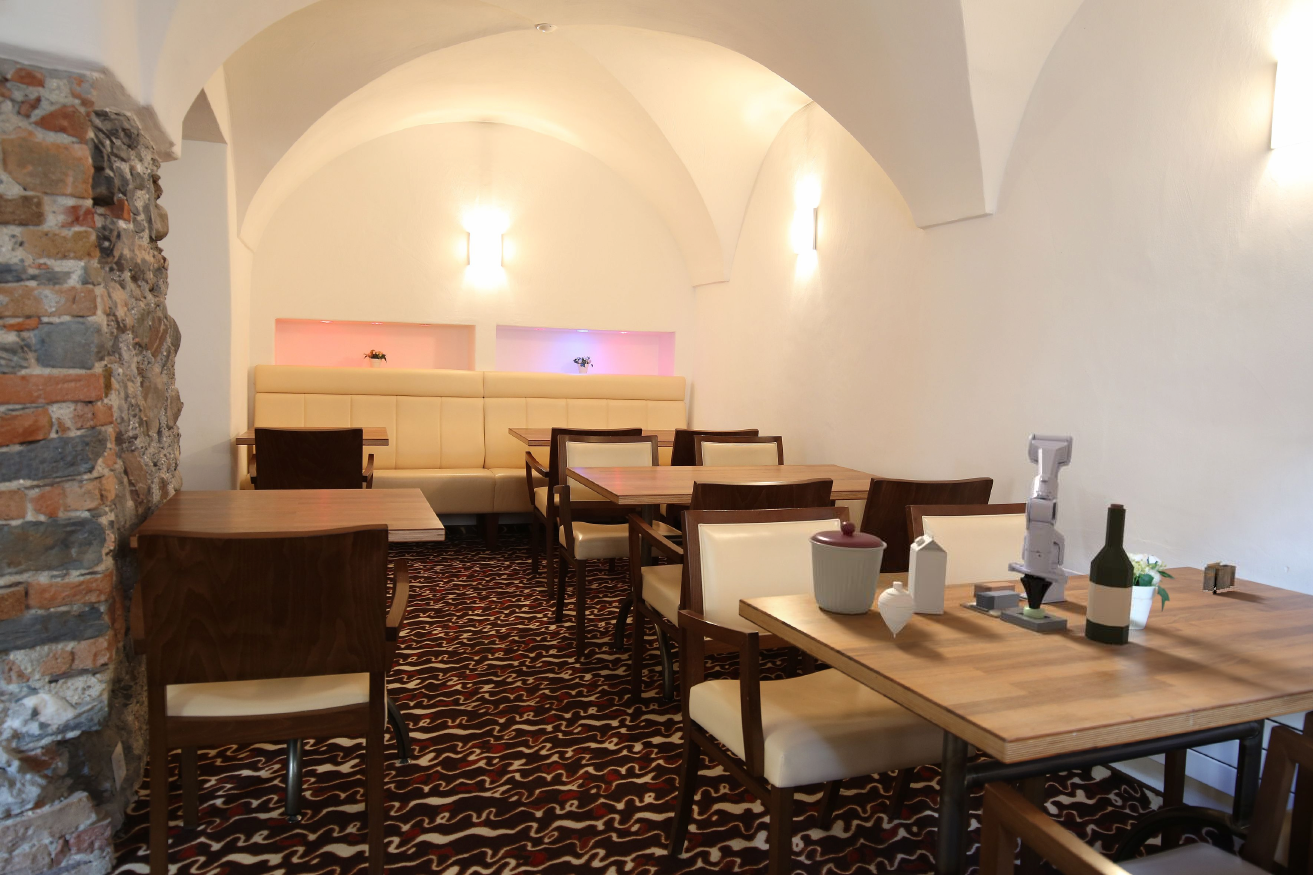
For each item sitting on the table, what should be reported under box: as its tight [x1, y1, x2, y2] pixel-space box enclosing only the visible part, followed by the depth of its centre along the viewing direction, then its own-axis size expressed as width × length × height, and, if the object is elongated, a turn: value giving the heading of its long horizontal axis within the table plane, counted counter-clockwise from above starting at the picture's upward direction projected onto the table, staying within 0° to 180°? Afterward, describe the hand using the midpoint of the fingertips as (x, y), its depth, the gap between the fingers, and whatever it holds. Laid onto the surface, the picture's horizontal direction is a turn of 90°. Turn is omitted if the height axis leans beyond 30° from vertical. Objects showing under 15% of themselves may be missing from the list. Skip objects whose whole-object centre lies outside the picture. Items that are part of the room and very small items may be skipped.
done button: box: [1023, 605, 1046, 620], centre depth 189 cm, size 4×4×3 cm
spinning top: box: [877, 581, 915, 639], centre depth 173 cm, size 8×8×12 cm
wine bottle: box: [1084, 503, 1135, 646], centre depth 178 cm, size 8×8×30 cm
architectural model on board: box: [1202, 560, 1237, 592], centre depth 230 cm, size 11×3×10 cm, turn 119°
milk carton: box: [907, 529, 948, 615], centre depth 196 cm, size 7×7×19 cm
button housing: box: [999, 609, 1068, 633], centre depth 189 cm, size 10×10×2 cm
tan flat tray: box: [959, 601, 1024, 619], centre depth 201 cm, size 14×11×1 cm
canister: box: [808, 521, 888, 615], centre depth 194 cm, size 18×18×21 cm
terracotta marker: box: [973, 581, 1016, 599], centre depth 213 cm, size 11×3×3 cm, turn 116°
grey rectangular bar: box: [975, 590, 1021, 610], centre depth 201 cm, size 11×3×3 cm, turn 116°
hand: (1034, 608), depth 189 cm, fingers closed, pressing on done button
